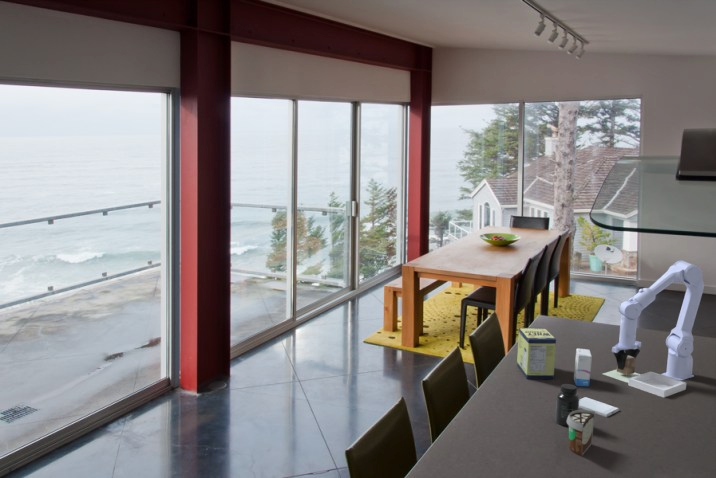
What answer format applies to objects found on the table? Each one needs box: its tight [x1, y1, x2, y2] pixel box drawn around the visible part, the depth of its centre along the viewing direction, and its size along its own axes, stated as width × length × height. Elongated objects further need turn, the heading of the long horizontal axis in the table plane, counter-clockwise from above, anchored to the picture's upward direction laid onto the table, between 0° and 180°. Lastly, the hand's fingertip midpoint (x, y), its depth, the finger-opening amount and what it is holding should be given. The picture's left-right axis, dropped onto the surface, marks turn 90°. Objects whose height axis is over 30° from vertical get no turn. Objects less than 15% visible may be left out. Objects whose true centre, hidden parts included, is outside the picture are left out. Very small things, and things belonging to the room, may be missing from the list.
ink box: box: [573, 347, 593, 388], centre depth 261 cm, size 9×5×12 cm, turn 168°
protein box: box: [516, 327, 557, 380], centre depth 271 cm, size 10×16×16 cm
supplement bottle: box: [555, 383, 580, 427], centre depth 225 cm, size 7×7×12 cm
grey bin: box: [627, 371, 687, 398], centre depth 257 cm, size 14×14×3 cm
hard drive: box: [579, 396, 620, 418], centre depth 238 cm, size 2×8×12 cm
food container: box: [567, 409, 596, 456], centre depth 208 cm, size 12×6×10 cm, turn 145°
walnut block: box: [616, 355, 637, 375], centre depth 267 cm, size 4×4×6 cm
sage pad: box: [602, 368, 642, 384], centre depth 269 cm, size 12×11×1 cm
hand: (624, 367), depth 268 cm, fingers closed on walnut block, 4 cm apart
